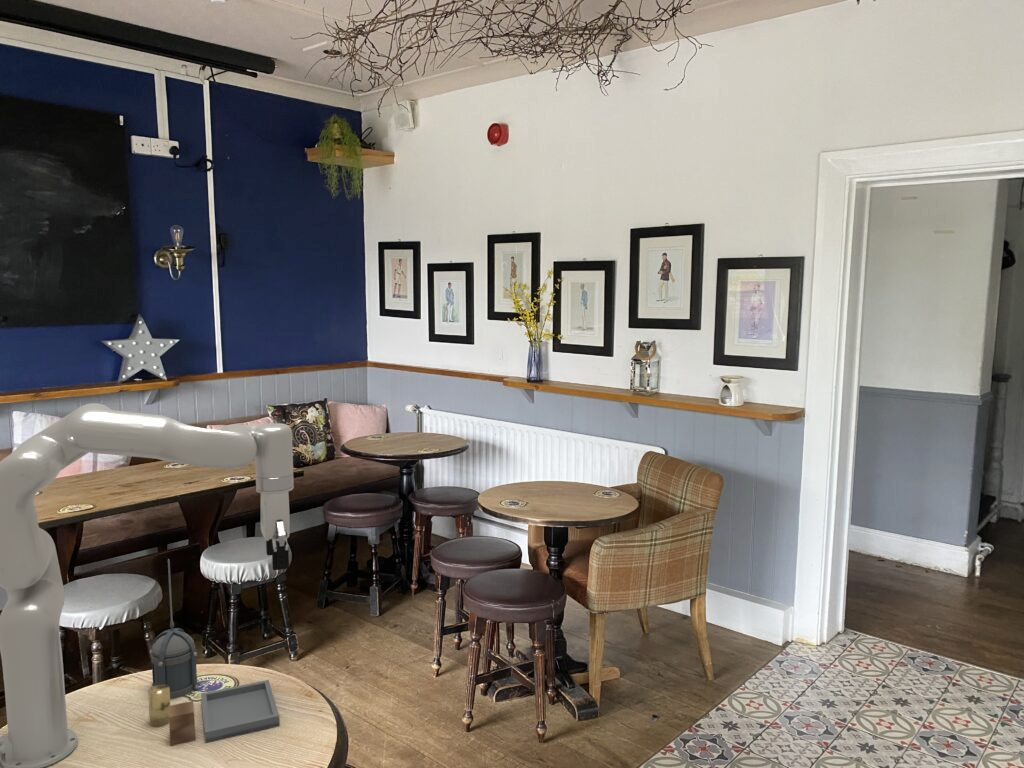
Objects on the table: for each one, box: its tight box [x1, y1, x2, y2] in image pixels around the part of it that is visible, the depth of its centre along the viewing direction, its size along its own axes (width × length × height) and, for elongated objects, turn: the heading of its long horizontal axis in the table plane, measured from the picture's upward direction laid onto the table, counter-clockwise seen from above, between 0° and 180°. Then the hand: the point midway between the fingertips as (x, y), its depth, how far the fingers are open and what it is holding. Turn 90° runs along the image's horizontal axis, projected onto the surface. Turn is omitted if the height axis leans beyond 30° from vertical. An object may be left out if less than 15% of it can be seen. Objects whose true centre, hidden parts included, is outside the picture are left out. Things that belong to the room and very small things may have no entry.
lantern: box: [149, 558, 200, 700], centre depth 166 cm, size 11×11×30 cm
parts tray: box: [200, 679, 280, 744], centre depth 157 cm, size 14×16×2 cm
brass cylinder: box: [147, 684, 171, 728], centre depth 154 cm, size 4×4×7 cm
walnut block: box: [168, 700, 196, 747], centre depth 149 cm, size 4×4×6 cm
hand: (277, 561), depth 160 cm, fingers open, 9 cm apart
